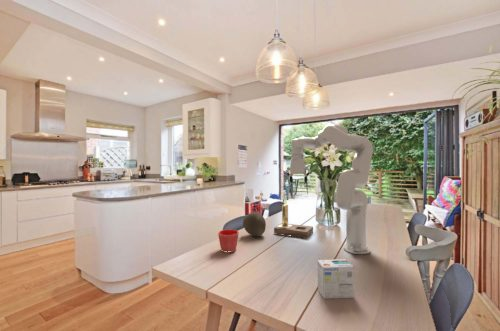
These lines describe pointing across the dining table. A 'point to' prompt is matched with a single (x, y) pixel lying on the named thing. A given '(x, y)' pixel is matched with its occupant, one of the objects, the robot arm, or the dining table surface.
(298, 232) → the brown flat wooden block
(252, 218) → the cantaloupe
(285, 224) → the brass peg
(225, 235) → the flower pot
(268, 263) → the dining table surface
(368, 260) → the dining table surface
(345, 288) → the light bulb box
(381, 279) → the dining table surface
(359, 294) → the dining table surface
